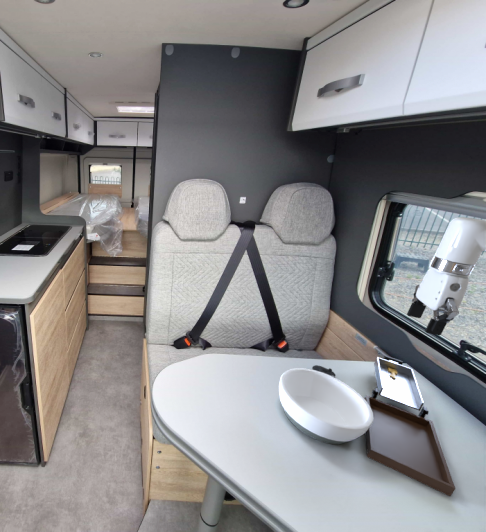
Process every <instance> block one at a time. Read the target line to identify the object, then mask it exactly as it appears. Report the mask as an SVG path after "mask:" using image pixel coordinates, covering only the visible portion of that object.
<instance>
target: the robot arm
mask: <svg viewBox="0 0 486 532" xmlns="http://www.w3.org/2000/svg"><path fill="white" fill-rule="evenodd" d="M482 252H486V218H485V219H479V218H473V217H466V216H458V217H454V218H453V219H451V220H450V222H449V223H448V225H447V227H446V229H445V232H444V233H443V236H442V238H441V240H440V242H439V244H438V246H437V249H436V251H435V254H434V255H433V257H432V259H431V261H430V263H429V267H428V270H427V271H426V273H425V275H424V276H423V278H422V280H421V281H420V283H419V284H417V285H416V286H415V289H414V293H413V298H412V300H411V303H410V306H409V308H408V311H407V313H406V315H407V316H408V317H412V318H417V319H421V318H422V317H423V314H424V312H425V310H426V308H427V307H428V308H429V309H430V310H432V311H433V316H432V317H433V318H430V319H429V322H428V324H427V326H426V327H425V329H424V332H425V333H426V334H429V335H434V336H442V334H443V332H444V330H445V329H446V326H447V325H448V324H450V323H451V321H453V320H454V319H455V317H457V316H458V315H459V314H460V311H459V308H460V307H461V306H460V305H461V304H462V302H463V299H464V297H465V294H466V292H467V289H468V285H469V280H470V276H471V274H472V272H473V270H474V268H475V267H476V264H477V262H478V260H479V258H480V256H481V254H482Z"/></svg>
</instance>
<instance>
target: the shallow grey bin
mask: <svg viewBox="0 0 486 532" xmlns="http://www.w3.org/2000/svg"><path fill="white" fill-rule="evenodd" d="M403 363H404V361H403V360H400V359H397V358H394V357H391V356H389V355H384V356H383V358H381V357H379V356H376V358H375V360H374V363H373V366H374V373H375V374H374V375H375V380H376V386H377V387H376V388H377V389H378V391H379V393H378V396H380V397H383V398H385V399H387V400H390V401H393V402H395V403H397V404H401V405H403V406H406V407H408V408H411V409H414V410H416V411H418V412H420V411H421V409H422V408H423V406H424V404H425V402H424V399H423V396H422V393H421V390H420V387H419V384H418V381H417V378H416V376H415V375H416V374H415V372H414V370H413V369H414V368H411V367H408V366H405V365H403ZM388 367H389V368H392V369H395V370H397V373H398V374H397V375H396V374H395V376H396V380H395V379H393V378H392V377H390V374H391V373H390V372H388Z"/></svg>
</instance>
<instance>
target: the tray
mask: <svg viewBox="0 0 486 532" xmlns="http://www.w3.org/2000/svg"><path fill="white" fill-rule="evenodd" d="M364 399H365V400H366V401H367V403H368V404H369V406H370V407H371V410H372V412H373V418H374V419H373V422H372V424H371V426H370V427H369V429H368V430H367V431H366V432H365V433H364V434H365V446H366V457H367V458H369V459H370V460H373V461H375V462H377V463H379V464H381V465H383V466H385V467H387V468H389V469H391V470H394V471H396V472H398V473H399V474H402V475H404V476H406V477H408V478H410V479H412V480H415V481H417V482H419V483H421V484H423V485H425V486H427V487H429V488H431V489H433V490H435V491H438V492H440V493H442V494H444V495H446V496H448V497H452V495H453V494H454V492H455V491H456V486H455V483H454V480H453V478H452V474H451V471H450V468H449V466H448V463H447V460H446V457H445V455H444V451H443V448H442V446H441V443H440V439H439V437H438V434H437V431H436V428H435V425H434V422H433V420H431V419H428V418H425V417H424V418H423V417H421V416H418V415H419V414H416V413H413V412H410V411H408V410H406V409H403V408H401V407H398V406H395V405H393V404H391V403H388V402H385V401H382V400H380V399H377V398H376V399H375V398H372V397H371V396H369V395H367V394H366V395H365V396H364Z"/></svg>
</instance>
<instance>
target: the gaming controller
mask: <svg viewBox="0 0 486 532" xmlns="http://www.w3.org/2000/svg"><path fill="white" fill-rule="evenodd" d="M311 370H316V371H319V372H322V373H325V374H328V375H330V376H332V377H334V378H336V376H337V374H336V373H335V372H334V371H333V370H332V368H326V367H324V366H322V365H317V364H316V365H315V364H314V365H313V366H312V367H311Z"/></svg>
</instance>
